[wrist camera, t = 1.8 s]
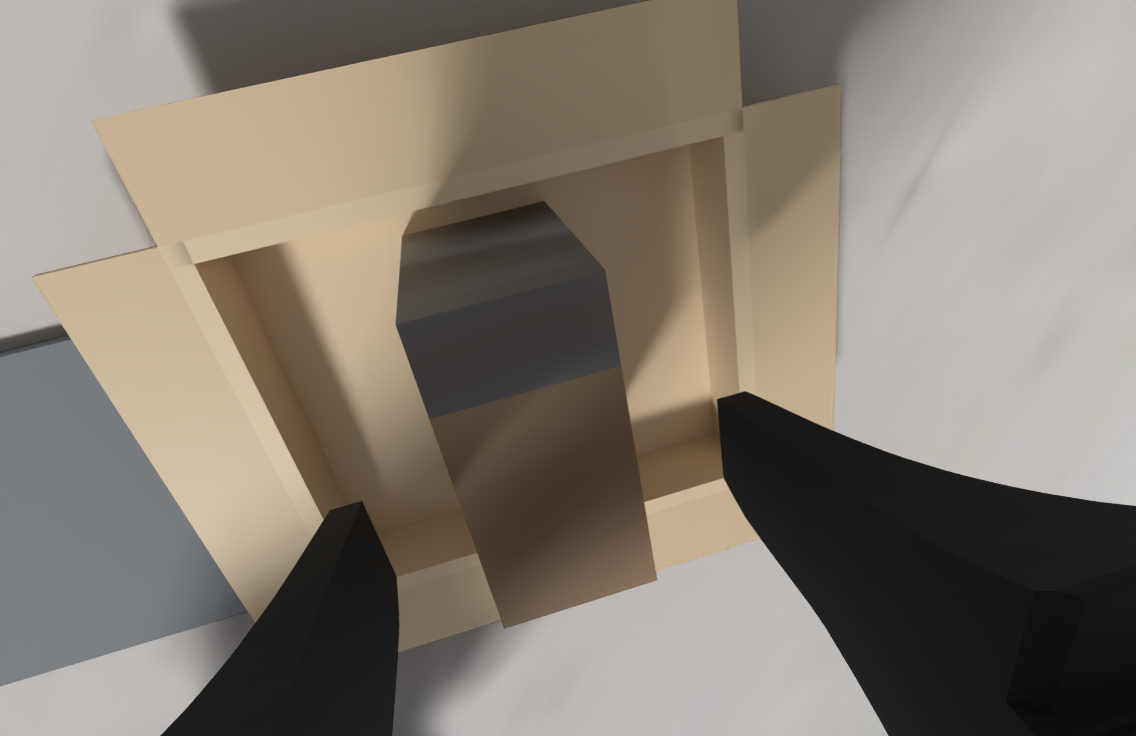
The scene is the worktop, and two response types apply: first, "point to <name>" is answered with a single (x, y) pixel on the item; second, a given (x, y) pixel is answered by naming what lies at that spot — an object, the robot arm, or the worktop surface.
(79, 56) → the worktop surface
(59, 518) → the rubber mat
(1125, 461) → the worktop surface
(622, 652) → the worktop surface
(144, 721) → the worktop surface
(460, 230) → the walnut box
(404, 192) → the carton
